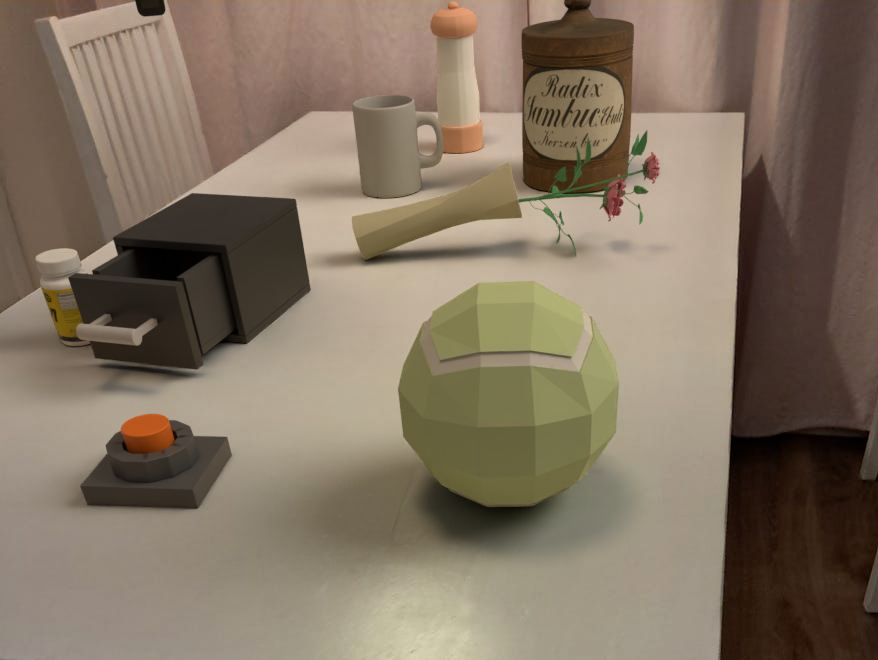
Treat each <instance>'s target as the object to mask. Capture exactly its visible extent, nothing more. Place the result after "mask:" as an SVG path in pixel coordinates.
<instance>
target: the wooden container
mask: <svg viewBox="0 0 878 660" xmlns="http://www.w3.org/2000/svg"><path fill="white" fill-rule="evenodd" d="M591 4H592V0H563V5H564V6H565V8H566V9H567V10H566V11H565V13H564V14H563V16H562V17H561V18H560V19H555V20H549V21H543V22H542V21H541V22H537V23H534V24H530V25H527V26H525V27H523V28H522V29H521V40H520V41H521V42H520V43H521V45H520V47H521V59H522V107H521V108H522V110H521V111H522V112H521V125H522V126H521V138H522V139H521V142H522V143H521V147H522V148H521V149H522V179H523V182H524V183H525V184H526V185H527V186H529V187H531V188H533V189H536V190H538V191H543V192H549V193H552V187H551V185H552V184H553V183H554V182H555V181H556V180H557V179H556V178H555V176H556V174H557V173H558V171H559V170H560V169H562V168H563V167H565V166H566V179H567V180H566V181H559V180H557V181H556V182H555V183H554V184H553V185H552V186H556V187H557V188H558V190H559V192H560V191H565V190H569V189H573V188H578V187H582V186H587V185H591V184H595V183H599V182H602V181H606V180H609V179H613V178H616V177H617V175H620V176H623V175H626V174H629V170H628V171H627V168H628V169H629V167H628V162H630V156H629V155H630V146H631V132H632V107H633V106H632V104H633V103H632V102H633V101H632V100H633V99H632V97H633V69H634V68H633V65H634V63H633V62H634V56H633V55H634V54H633V53H634V52H633V51H634V42H635V25H634V24H633V23H632V22H630V21H627V20H623V19H617V18H606V17H595V15H594V14H593V13H592V12H591V10H590V9H589V8H591V7H590V6H591ZM588 138H589V141H590V144H591V159H590V161H589V162H587V163H586V164H585V163H584V160H585V156H586V146H587V139H588ZM576 146H577V147H578V150H579V153H580V157H581V166H582V165H583V164H584V165H583V166H582V167H581V168H580V170H581V172H582V174H581V176H580V177H579V178H578V180H577V183H576V184H575V182H576V181H575V179H574V166H575V167H577V150H576ZM628 157H629V159H628ZM573 179H574V181H575V182H574V181H573ZM621 179H622V178H621ZM621 179H620V182H621ZM627 179H628V177H624V178H623V182H624V183H625V182H626V180H627ZM572 182H573V183H574V184H573V183H572ZM611 182H612V181H611ZM611 182H609V183H611ZM571 183H572V184H573V185H572V184H571ZM609 183H608V182H607V183H604V184H600V185H596V186H592V187H588V188H584V189H579V190H575V191H570V192H566V193H565V194H585V193H591V192H599V191H603V190H604V186H606V187H608V185H609ZM618 183H619V182H618ZM570 185H572V186H571V187H570V188H568V187H569V186H570ZM550 187H551V189H550ZM567 188H568V189H567ZM549 189H550V191H549ZM604 191H605V190H604Z"/></svg>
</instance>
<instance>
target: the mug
mask: <svg viewBox="0 0 878 660" xmlns="http://www.w3.org/2000/svg"><path fill="white" fill-rule="evenodd" d="M351 106H352V107H351V108H352V118H353V125H354V133H355V141H356V151H357V158H358V165H359V166H358V167H359V168H358V169H359V177H360V187H361V191H362V193H363V194H364V195H366V196H368V197H371V198H377V197H378V198H379V199H393V198H402V197H407V196H410V195H412V194H415V192H416V193H417V192H419V191H420V190H421V188H422V171H421V169H422V170H423V169H429V168H433V167H436V166H437V165H438V164H439V163H440V162H441V160H442V158H443V154H444V152H443V133H442V128H441V125H440V122H439V120H438V116H436V115H435V114H434V113H431V112H426V111H417V110H416V102H415V99H414V98H413V97H411V96H409V95H403V94H379V95H372V96H366V97H362V98H359V99H356V100H354V101H353V103H352V105H351ZM422 126H430V127H431V128H433V130H434V133H435V139H436V146H435V151H434V152H433V154H430V155H424V154H423V153H420V147H419V139H418V136H419V135H418V128H419V127H422Z"/></svg>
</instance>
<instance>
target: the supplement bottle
mask: <svg viewBox="0 0 878 660" xmlns="http://www.w3.org/2000/svg"><path fill="white" fill-rule="evenodd" d="M34 261H35V264H36V266H37V271H38V272H39V275H41V277H40V279H39V286H40V289H41V292H42V295H43V297H44V300H45V303H46V305H47V308H48V311H49V313H50V316H51V319H52V322H53V325H54V327H55V330H56V333H57V336H58V339H59V341H60V342H61V343H62V344H63V345H65V346H69V347H83V346H87V345H88V346H89V345H91V344H90V341H89V340H81V339H79V338H78V336H77V334H76V328H77V326H78V325H79V324H83V321H82V318H81V315H80V312H79V309H78V306H77V303H76V300H75V297H74V294H73V291H72V288H71V285H70V282H69V279H68V277H70V276H72V275H73V274H75V273H82V274H89V273H88V272H87V270H85V269H83V268H82V267H83V266H82V261H81V259H80V256H79V253H78V251H77V250H76V249H73V248H66V247H65V248H63V247H62V248H54V249H48V250H45V251H42V252H40V253H38V254H37V255H36V256H35V258H34Z"/></svg>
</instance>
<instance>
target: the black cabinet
mask: <svg viewBox="0 0 878 660" xmlns="http://www.w3.org/2000/svg"><path fill="white" fill-rule="evenodd" d="M300 222H301V221H300V216H299V210H298V205H297V199H296V198H294V197H293V198H291V197H275V196H274V197H273V196H272V197H270V196H254V195H253V196H252V195H238V194H237V195H234V194H216V193H198V192H197V193H196V192H191V193H190V194H188V195H186V196H184V197H183V198H180V199H179V200H177V201H175V202H173V203H172V204H170V205H168V206H166V207H165V208H162V209H161V210H159V211H157V212H155V213H154V214H152V215H150V216H148V217H146V218H145V219H143V220H141V221H139V222H137V223H136V224H134V225H132V226H130V227H129V228H127V229H125V230H123V231H122V232H120V233H118V234H116V235H114V236H113V237H112V240H113V243H114V247H115V251H116V254H117V255H119V254H121V253H123V252H124V251H126V250H128V249H129V248H131V247H145V248H158V249H172V250H186V251H199V252H213V253H221V257H222V262H223V266H224V271H225V275H226V280H227V284H228V289H229V293H230V297H231V302H232V306H233V311H234V315H235V320H236V324H237V328H236V329H235V330H234V331H232V332H231V333H230V334H229V335H227V336H226V337H225V338H224V339H222V340H221V341H220V342H230V343H238V344H239V343H240V344H248V343H250V341H252V340H253V339H254V338H255V337H257V336H258V335H259V334H260V333H262V332H263V330H265V329H266V328H268V327H269V325H271V324H272V323H273V322H275V321H276V320H277V319H278V318H279V317H281V316H282V315H283V314H284V313H285V312H286V311H287V310H289V309H290V308H291V307H292V306H294V305H295V304H296V303H297V302H298V301H300V300H301V299H302V298H303V297H304V296H305V295H306V294H307V293H309V292H310V291H311V290H312V289H311V283H310V277H309V272H308V271H309V270H308V265H307V259H306V253H305V246H304V240H303V235H302V228H301V223H300Z"/></svg>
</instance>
